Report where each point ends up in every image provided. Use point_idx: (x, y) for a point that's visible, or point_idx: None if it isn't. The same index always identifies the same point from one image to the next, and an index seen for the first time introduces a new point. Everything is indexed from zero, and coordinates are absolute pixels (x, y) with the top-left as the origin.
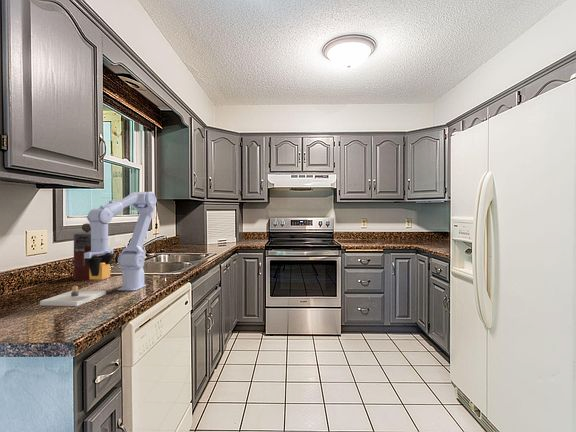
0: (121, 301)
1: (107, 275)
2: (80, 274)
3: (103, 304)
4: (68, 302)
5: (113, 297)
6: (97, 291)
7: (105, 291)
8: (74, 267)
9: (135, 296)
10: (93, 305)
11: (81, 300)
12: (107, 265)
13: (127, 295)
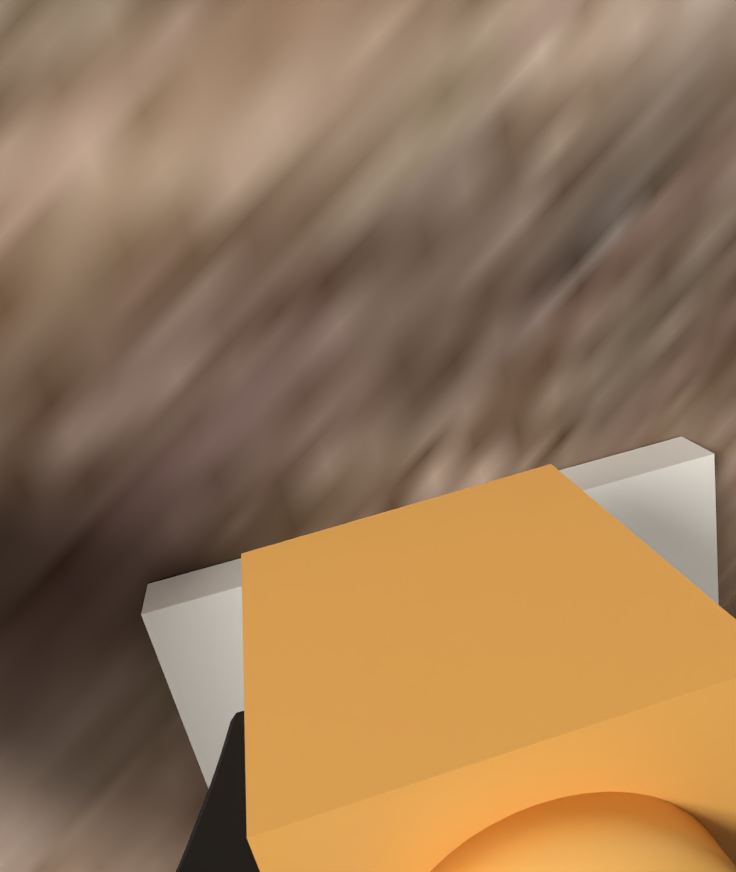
0: (382, 14)
1: (364, 547)
2: None
3: (571, 172)
4: (711, 547)
5: (237, 341)
6: (224, 677)
7: (152, 605)
8: None
9: (41, 3)
10: (630, 269)
11: (639, 472)
12: (438, 755)
13: (52, 214)
